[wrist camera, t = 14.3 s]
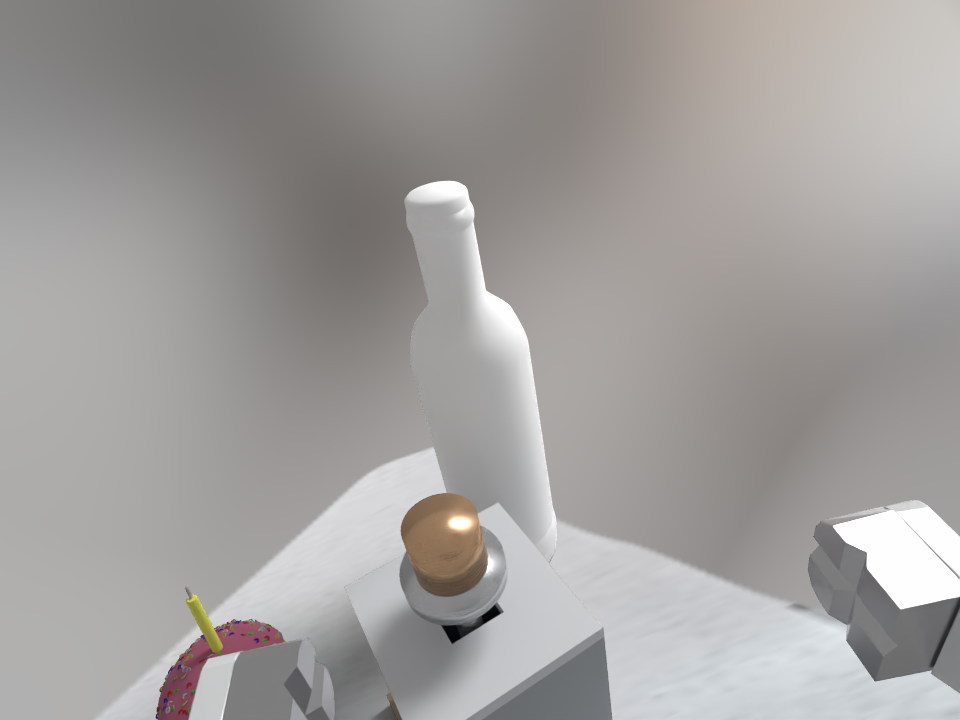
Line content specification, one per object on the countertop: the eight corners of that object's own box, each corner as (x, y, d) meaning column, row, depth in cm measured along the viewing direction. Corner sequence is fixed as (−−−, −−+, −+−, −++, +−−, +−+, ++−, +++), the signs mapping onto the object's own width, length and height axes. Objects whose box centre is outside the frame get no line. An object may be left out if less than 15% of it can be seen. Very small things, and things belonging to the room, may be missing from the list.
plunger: (517, 636, 42) (472, 442, 32) (585, 734, 36) (554, 535, 26) (418, 699, 40) (336, 511, 30) (474, 816, 34) (395, 630, 24)
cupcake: (207, 674, 45) (128, 572, 39) (319, 647, 46) (261, 542, 39) (175, 805, 38) (73, 709, 32) (309, 773, 39) (235, 670, 32)
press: (527, 617, 45) (501, 493, 38) (627, 755, 36) (618, 629, 29) (390, 704, 41) (332, 585, 34) (466, 879, 33) (410, 770, 26)
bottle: (443, 553, 51) (336, 208, 34) (503, 493, 55) (434, 162, 39) (518, 602, 46) (434, 228, 29) (577, 532, 50) (534, 172, 34)
